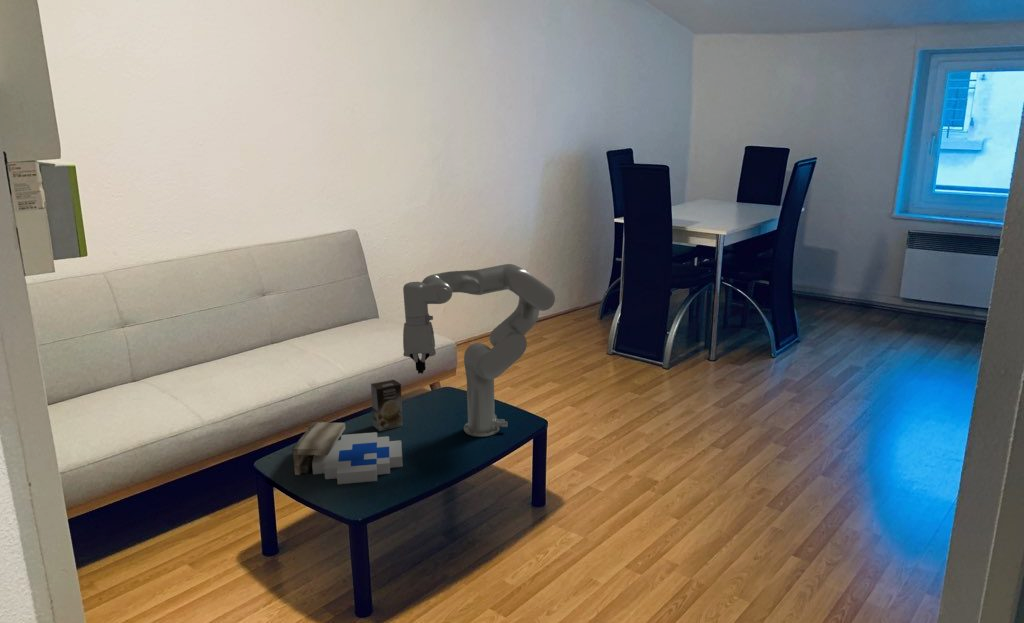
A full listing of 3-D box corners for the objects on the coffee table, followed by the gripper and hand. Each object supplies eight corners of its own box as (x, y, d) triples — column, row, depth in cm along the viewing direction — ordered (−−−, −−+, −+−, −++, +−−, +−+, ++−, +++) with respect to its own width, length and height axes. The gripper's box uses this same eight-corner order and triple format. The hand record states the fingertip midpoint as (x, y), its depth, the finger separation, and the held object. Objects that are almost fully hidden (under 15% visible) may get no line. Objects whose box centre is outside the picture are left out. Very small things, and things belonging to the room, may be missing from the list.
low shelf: (347, 447, 265) (345, 422, 263) (329, 475, 246) (327, 449, 244) (315, 446, 266) (312, 422, 264) (295, 474, 247) (292, 448, 245)
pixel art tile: (400, 430, 269) (402, 467, 243) (401, 441, 270) (403, 479, 244) (317, 436, 265) (309, 475, 239) (318, 447, 266) (310, 487, 240)
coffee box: (379, 431, 277) (376, 389, 273) (372, 425, 282) (369, 383, 278) (403, 426, 282) (401, 384, 277) (396, 419, 287) (394, 378, 282)
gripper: (441, 315, 260) (444, 367, 266) (396, 317, 261) (400, 368, 266) (438, 322, 253) (442, 375, 258) (392, 323, 253) (397, 377, 259)
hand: (421, 372), depth 262 cm, fingers closed
